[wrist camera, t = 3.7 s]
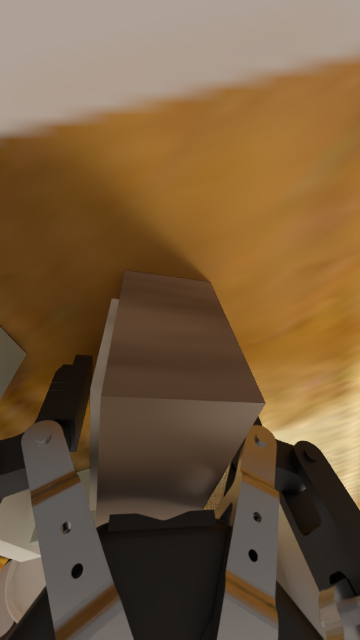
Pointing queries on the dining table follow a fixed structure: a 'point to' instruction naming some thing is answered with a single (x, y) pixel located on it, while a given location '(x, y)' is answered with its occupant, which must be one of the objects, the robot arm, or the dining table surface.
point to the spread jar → (18, 591)
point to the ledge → (16, 510)
